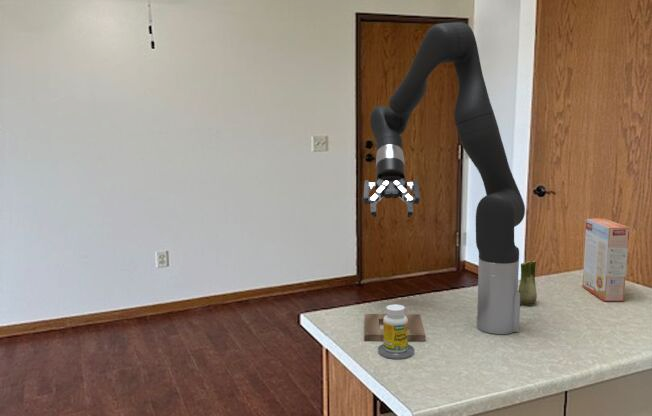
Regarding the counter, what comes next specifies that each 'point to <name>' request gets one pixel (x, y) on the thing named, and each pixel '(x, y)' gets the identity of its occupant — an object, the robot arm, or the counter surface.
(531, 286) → the fennel bulb
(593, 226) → the cracker box
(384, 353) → the coaster
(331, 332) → the counter surface
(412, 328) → the pocket board
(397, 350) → the supplement bottle
